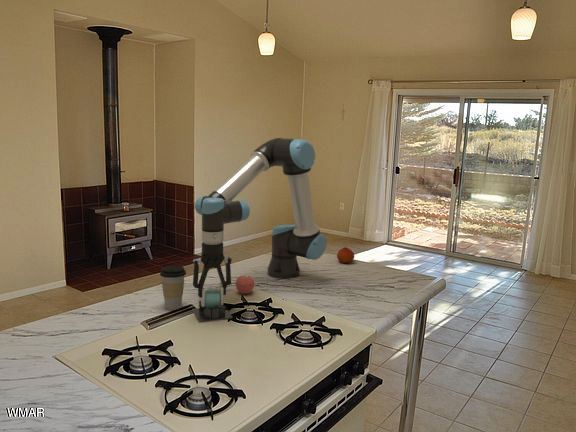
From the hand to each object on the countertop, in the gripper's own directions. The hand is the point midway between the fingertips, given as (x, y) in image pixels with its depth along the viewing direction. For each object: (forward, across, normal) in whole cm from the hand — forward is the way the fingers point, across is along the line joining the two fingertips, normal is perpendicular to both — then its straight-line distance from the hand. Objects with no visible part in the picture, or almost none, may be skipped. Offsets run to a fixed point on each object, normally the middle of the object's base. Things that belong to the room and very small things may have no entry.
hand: (212, 304), depth 172 cm
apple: (+4, +18, +18) cm, 26 cm away
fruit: (+4, +81, +47) cm, 94 cm away
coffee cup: (+4, -12, +11) cm, 17 cm away
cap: (0, 0, 0) cm, 0 cm away
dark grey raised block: (+4, 0, 0) cm, 4 cm away
